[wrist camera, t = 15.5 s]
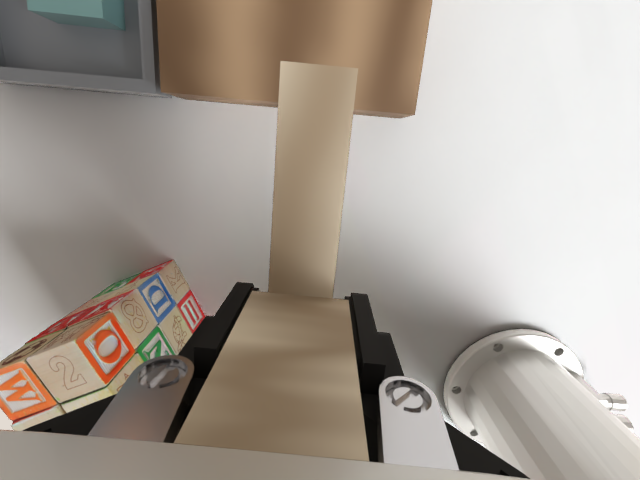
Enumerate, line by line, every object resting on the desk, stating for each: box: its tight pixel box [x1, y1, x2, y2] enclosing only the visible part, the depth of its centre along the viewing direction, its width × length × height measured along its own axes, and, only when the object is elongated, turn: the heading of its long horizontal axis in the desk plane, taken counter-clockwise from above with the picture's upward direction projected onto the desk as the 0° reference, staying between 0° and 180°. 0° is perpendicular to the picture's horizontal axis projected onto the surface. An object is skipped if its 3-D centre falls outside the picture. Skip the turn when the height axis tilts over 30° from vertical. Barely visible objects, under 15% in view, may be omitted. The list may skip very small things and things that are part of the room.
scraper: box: [174, 61, 369, 462], centre depth 9 cm, size 3×16×8 cm, turn 175°
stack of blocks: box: [0, 260, 205, 431], centre depth 26 cm, size 21×6×12 cm, turn 22°
